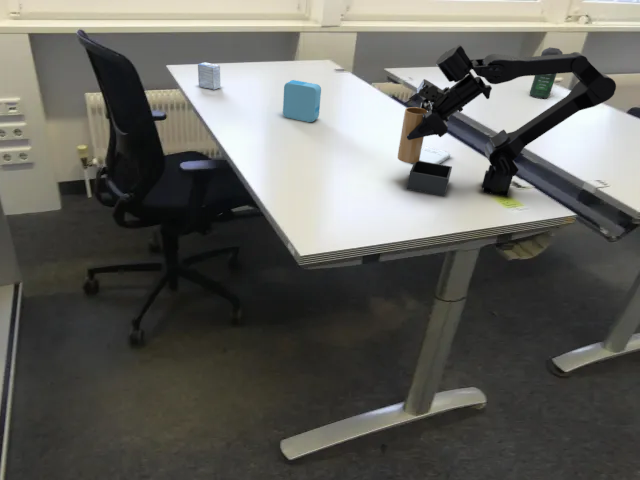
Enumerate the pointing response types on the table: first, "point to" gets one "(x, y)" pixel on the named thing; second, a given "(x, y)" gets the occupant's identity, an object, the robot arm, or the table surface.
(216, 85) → the medicine box
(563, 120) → the robot arm
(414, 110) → the cup
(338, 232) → the table surface
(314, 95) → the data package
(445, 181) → the bin
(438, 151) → the hard drive
